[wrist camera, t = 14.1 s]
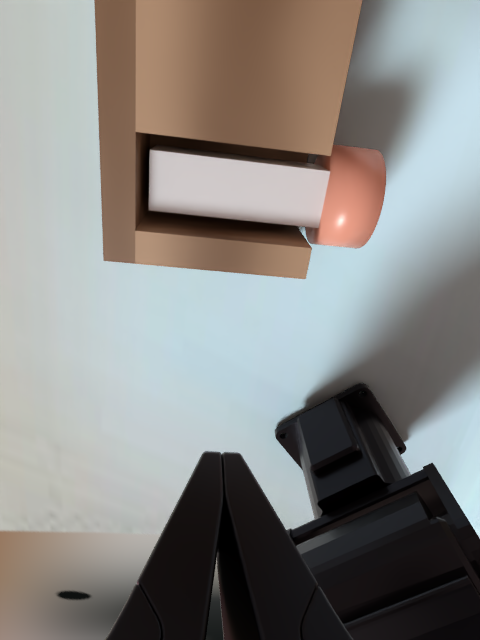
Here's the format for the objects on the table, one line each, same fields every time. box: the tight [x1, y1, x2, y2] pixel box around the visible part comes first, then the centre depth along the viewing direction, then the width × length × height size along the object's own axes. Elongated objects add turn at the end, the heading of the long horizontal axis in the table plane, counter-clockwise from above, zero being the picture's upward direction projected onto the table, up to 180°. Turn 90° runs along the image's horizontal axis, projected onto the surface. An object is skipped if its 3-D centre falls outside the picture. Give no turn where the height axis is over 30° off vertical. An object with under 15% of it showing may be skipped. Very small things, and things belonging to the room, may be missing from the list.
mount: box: [95, 0, 362, 279], centre depth 14 cm, size 8×17×4 cm, turn 173°
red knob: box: [149, 144, 386, 248], centre depth 17 cm, size 9×4×4 cm, turn 83°
